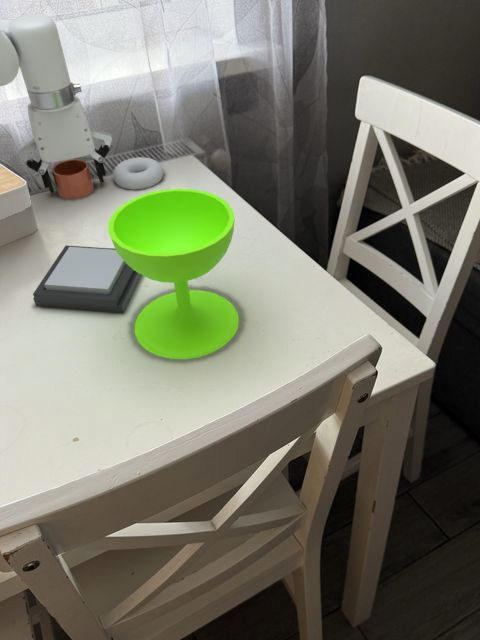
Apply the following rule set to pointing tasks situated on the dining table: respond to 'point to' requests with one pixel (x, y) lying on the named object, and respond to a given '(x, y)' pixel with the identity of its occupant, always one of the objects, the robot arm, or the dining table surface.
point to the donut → (138, 173)
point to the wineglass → (178, 268)
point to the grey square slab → (87, 271)
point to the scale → (89, 300)
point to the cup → (73, 179)
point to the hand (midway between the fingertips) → (76, 184)
